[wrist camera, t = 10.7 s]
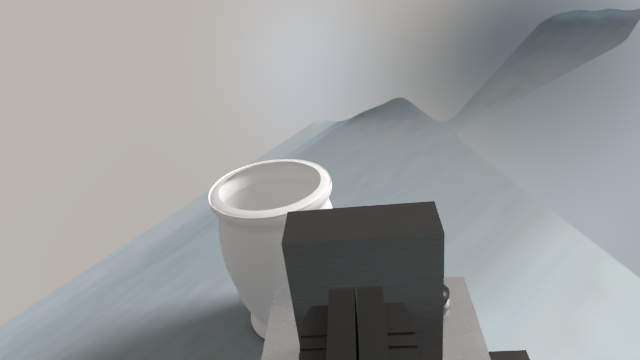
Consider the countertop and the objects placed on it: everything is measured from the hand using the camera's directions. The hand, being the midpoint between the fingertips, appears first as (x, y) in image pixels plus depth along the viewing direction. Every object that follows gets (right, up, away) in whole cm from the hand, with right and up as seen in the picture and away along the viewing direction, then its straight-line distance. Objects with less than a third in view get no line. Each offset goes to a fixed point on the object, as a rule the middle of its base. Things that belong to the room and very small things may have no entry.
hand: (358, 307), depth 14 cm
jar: (-4, -10, +35) cm, 36 cm away
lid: (+2, -8, +17) cm, 19 cm away
